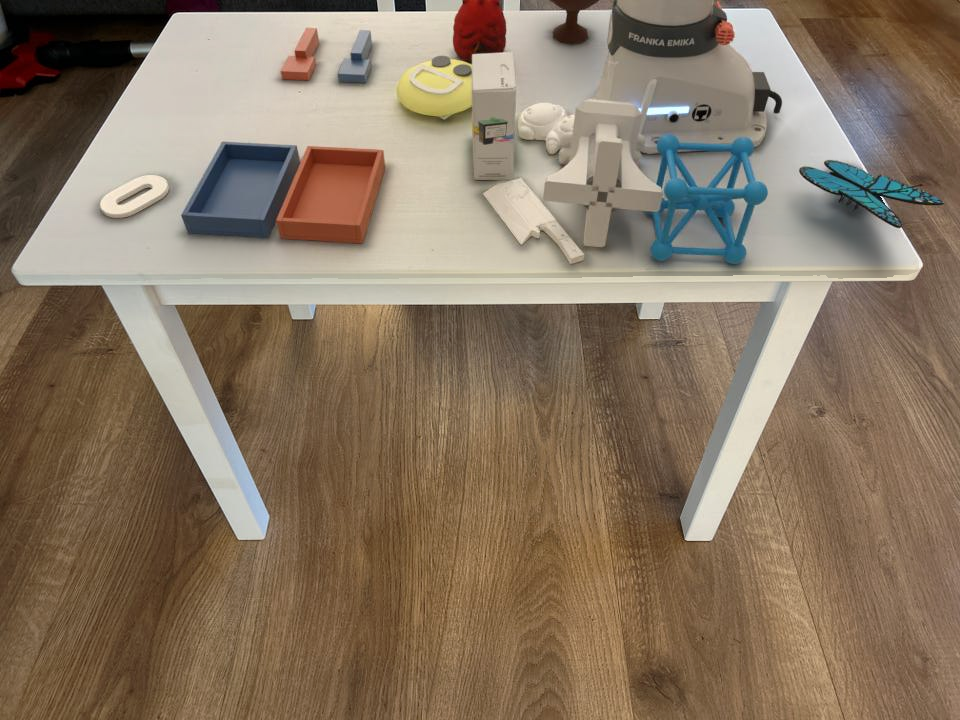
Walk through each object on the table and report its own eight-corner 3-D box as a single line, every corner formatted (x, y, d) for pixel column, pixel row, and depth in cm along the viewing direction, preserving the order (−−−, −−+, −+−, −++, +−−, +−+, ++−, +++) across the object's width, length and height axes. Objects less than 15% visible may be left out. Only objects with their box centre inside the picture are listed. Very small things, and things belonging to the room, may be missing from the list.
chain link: (115, 219, 84) (91, 201, 86) (117, 223, 85) (93, 206, 87) (176, 186, 88) (151, 169, 90) (177, 190, 89) (152, 173, 91)
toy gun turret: (550, 125, 72) (560, 52, 85) (538, 240, 82) (549, 159, 95) (676, 136, 72) (667, 61, 85) (649, 252, 81) (645, 168, 94)
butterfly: (880, 254, 76) (910, 210, 73) (770, 192, 82) (793, 149, 79) (931, 225, 90) (958, 187, 87) (832, 173, 95) (854, 136, 92)
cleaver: (541, 273, 79) (542, 265, 78) (483, 195, 88) (483, 187, 88) (584, 260, 81) (585, 252, 80) (522, 183, 90) (522, 175, 89)
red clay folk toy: (504, 45, 112) (506, -65, 101) (507, 69, 107) (510, -43, 96) (452, 46, 112) (449, -63, 100) (454, 70, 107) (450, -42, 96)
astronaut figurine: (572, 168, 92) (575, 147, 89) (503, 128, 97) (504, 107, 95) (619, 140, 95) (623, 118, 93) (550, 103, 101) (551, 82, 99)
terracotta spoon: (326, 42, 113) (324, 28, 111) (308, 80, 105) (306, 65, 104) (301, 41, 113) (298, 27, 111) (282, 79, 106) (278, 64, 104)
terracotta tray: (385, 167, 92) (383, 149, 90) (362, 243, 83) (360, 225, 81) (311, 163, 92) (307, 145, 90) (280, 238, 83) (275, 220, 81)
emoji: (446, 110, 94) (503, 65, 99) (375, 81, 99) (433, 39, 104) (449, 137, 97) (504, 91, 102) (380, 108, 102) (436, 65, 107)
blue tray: (300, 162, 92) (296, 145, 91) (268, 238, 83) (263, 219, 81) (227, 159, 93) (221, 141, 91) (187, 233, 84) (180, 215, 82)
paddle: (379, 45, 112) (378, 30, 110) (365, 83, 105) (363, 68, 103) (354, 43, 112) (352, 29, 111) (338, 81, 105) (336, 66, 103)
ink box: (471, 140, 96) (470, 50, 87) (511, 140, 96) (513, 50, 87) (472, 181, 90) (471, 89, 81) (514, 180, 90) (517, 88, 81)
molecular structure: (754, 132, 79) (657, 129, 79) (773, 191, 72) (667, 186, 73) (730, 210, 86) (642, 206, 87) (744, 269, 80) (649, 265, 80)
